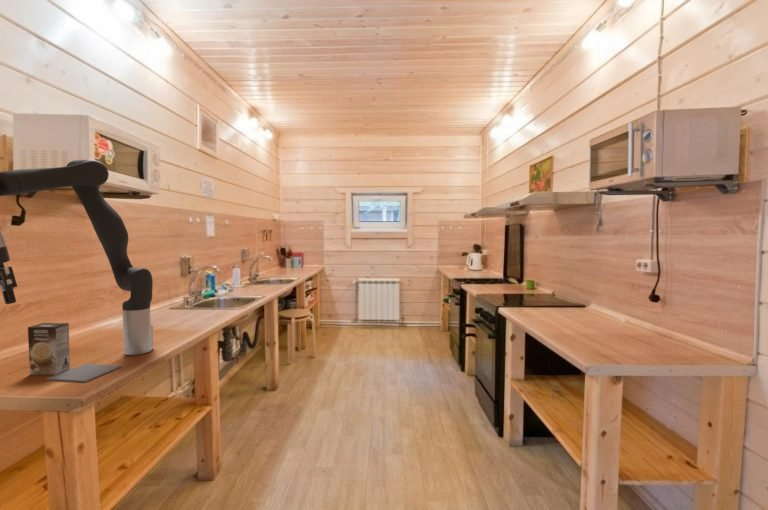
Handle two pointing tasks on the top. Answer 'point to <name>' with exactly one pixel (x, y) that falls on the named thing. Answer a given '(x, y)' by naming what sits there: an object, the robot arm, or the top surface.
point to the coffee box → (49, 348)
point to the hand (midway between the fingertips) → (3, 303)
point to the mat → (84, 373)
